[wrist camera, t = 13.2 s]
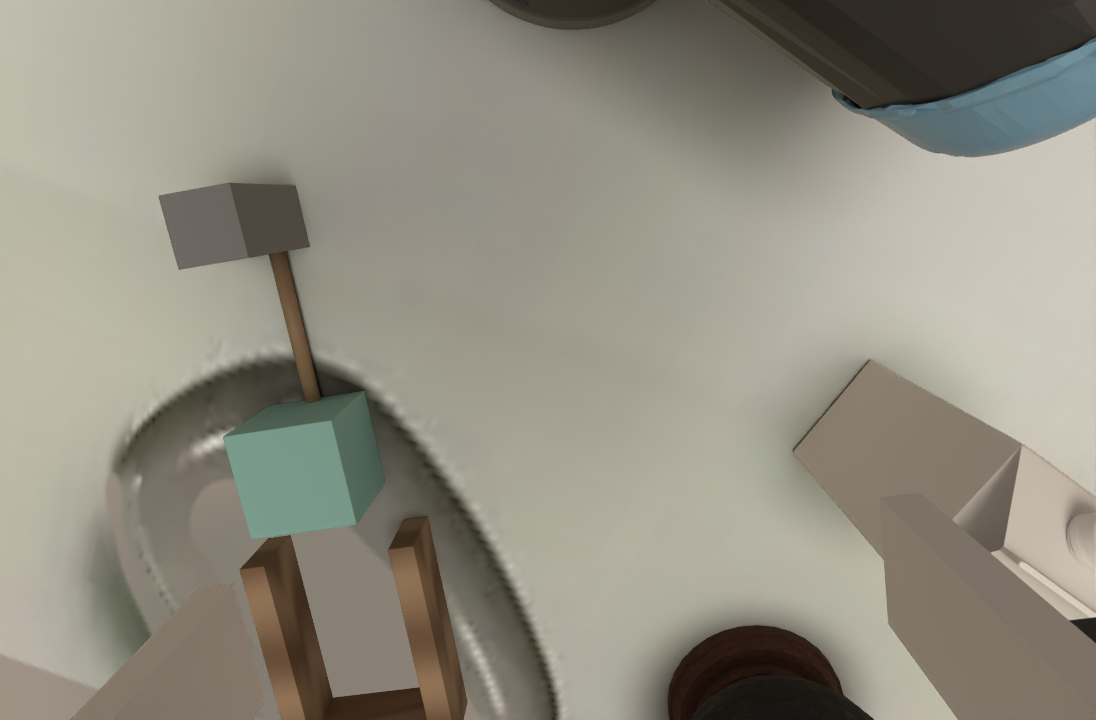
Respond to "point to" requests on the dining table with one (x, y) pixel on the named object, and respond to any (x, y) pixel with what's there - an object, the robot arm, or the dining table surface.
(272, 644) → the wooden u-shaped block
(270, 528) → the cube dumbbell
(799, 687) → the speckled black round top
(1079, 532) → the milk carton
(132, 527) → the dining table surface
